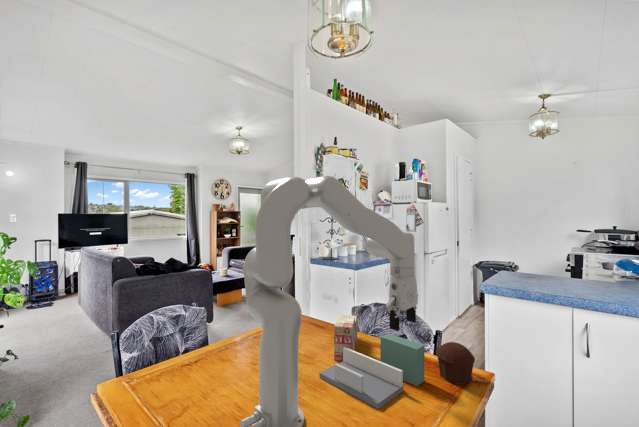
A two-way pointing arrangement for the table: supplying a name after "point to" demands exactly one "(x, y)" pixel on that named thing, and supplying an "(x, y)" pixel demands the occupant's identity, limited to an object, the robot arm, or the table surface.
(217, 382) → the table surface
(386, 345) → the book
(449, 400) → the table surface
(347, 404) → the table surface
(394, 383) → the grey slotted holder
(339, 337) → the printed carton
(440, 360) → the muffin
